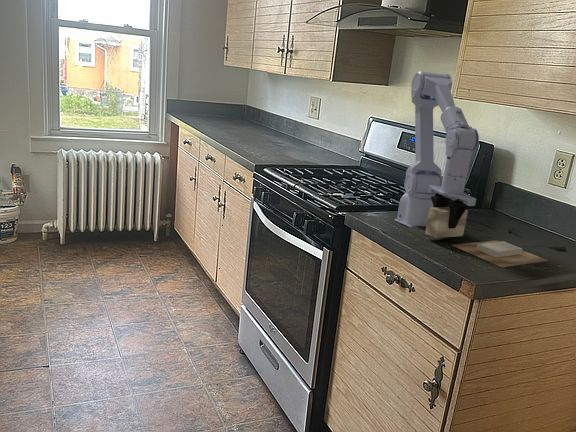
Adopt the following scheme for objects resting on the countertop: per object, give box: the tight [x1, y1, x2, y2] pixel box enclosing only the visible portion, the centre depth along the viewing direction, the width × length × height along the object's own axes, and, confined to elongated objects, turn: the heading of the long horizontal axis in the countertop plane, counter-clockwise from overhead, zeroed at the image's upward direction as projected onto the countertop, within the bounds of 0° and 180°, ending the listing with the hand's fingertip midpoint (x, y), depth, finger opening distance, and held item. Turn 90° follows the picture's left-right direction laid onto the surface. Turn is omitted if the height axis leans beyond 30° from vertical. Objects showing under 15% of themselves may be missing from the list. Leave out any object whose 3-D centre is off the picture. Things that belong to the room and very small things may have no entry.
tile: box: [477, 240, 524, 257], centre depth 140 cm, size 2×10×6 cm
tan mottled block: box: [424, 206, 469, 239], centre depth 144 cm, size 4×10×7 cm, turn 121°
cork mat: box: [451, 240, 549, 268], centre depth 140 cm, size 16×18×1 cm
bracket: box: [506, 228, 567, 252], centre depth 156 cm, size 14×15×3 cm
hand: (445, 225), depth 144 cm, fingers closed on tan mottled block, 4 cm apart
